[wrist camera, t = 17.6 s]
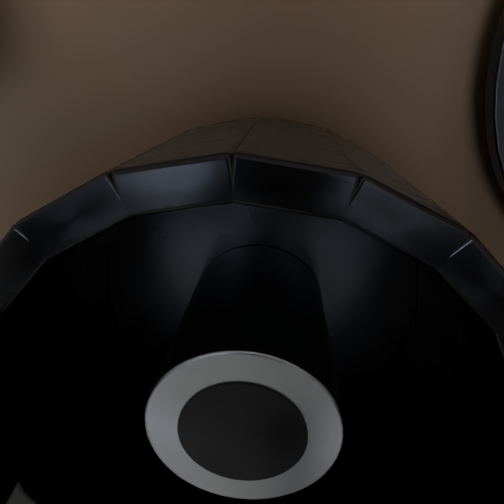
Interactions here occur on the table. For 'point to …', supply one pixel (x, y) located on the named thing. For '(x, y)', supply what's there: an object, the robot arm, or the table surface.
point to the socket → (249, 381)
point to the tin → (184, 283)
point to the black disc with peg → (496, 103)
